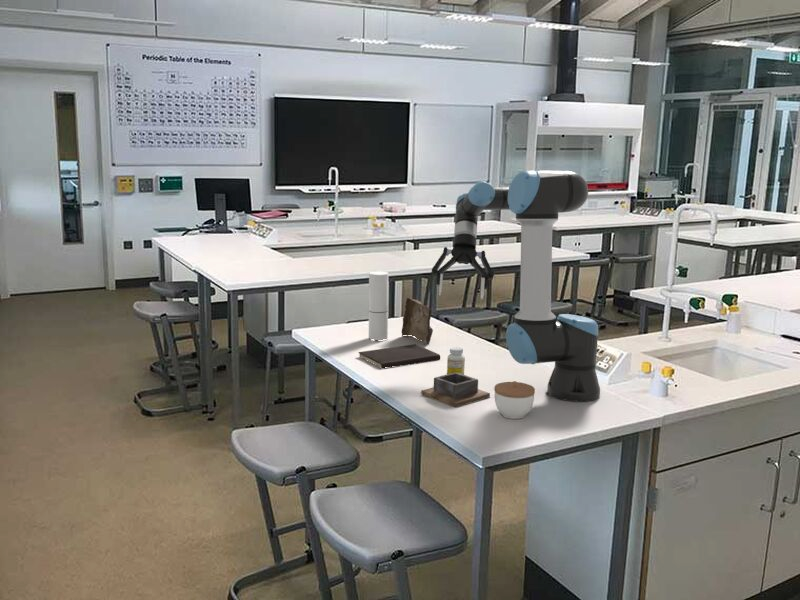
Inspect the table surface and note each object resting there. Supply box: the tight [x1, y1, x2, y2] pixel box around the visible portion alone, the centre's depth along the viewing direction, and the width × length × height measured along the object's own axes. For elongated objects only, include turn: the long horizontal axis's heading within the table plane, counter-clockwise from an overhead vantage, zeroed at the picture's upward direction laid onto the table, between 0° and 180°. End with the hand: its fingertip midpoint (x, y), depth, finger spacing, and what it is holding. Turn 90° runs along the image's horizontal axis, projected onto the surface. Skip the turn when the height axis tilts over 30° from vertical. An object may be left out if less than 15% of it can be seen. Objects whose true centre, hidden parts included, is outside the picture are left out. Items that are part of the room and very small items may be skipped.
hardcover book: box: [358, 343, 441, 369], centre depth 252 cm, size 16×23×2 cm
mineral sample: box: [401, 297, 434, 346], centre depth 275 cm, size 17×4×15 cm, turn 33°
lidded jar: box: [493, 380, 536, 420], centre depth 198 cm, size 11×11×9 cm
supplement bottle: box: [446, 346, 466, 375], centre depth 230 cm, size 5×5×10 cm
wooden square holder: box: [420, 372, 491, 408], centre depth 214 cm, size 14×14×5 cm
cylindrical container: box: [368, 271, 389, 340], centre depth 275 cm, size 7×7×25 cm
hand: (461, 295), depth 239 cm, fingers open, 13 cm apart
